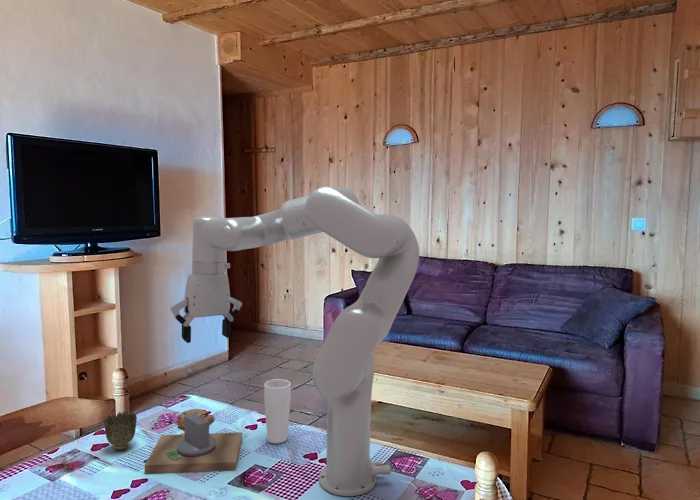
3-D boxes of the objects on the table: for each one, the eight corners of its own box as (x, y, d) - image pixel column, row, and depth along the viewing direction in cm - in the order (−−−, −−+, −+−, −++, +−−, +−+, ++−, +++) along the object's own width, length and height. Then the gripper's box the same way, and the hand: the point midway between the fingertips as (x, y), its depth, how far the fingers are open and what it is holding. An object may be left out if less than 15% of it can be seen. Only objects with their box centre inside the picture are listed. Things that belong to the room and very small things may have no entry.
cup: (137, 453, 123) (136, 421, 123) (103, 458, 121) (102, 425, 120) (137, 439, 130) (137, 409, 130) (105, 444, 128) (104, 413, 127)
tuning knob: (223, 447, 123) (223, 419, 122) (189, 460, 116) (188, 430, 116) (199, 432, 130) (199, 405, 130) (165, 444, 124) (165, 416, 123)
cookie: (199, 412, 148) (199, 402, 148) (221, 423, 141) (221, 413, 141) (167, 423, 141) (167, 412, 140) (189, 435, 134) (188, 424, 134)
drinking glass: (277, 448, 127) (277, 390, 126) (258, 440, 131) (258, 383, 130) (295, 438, 132) (296, 382, 131) (277, 431, 137) (277, 377, 135)
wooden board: (241, 439, 131) (242, 431, 131) (235, 470, 116) (235, 461, 116) (161, 442, 129) (161, 434, 129) (144, 473, 114) (144, 464, 114)
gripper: (235, 264, 129) (233, 331, 131) (166, 267, 118) (165, 339, 120) (249, 269, 123) (246, 338, 125) (177, 272, 112) (175, 348, 114)
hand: (206, 338), depth 122 cm, fingers open, 9 cm apart
